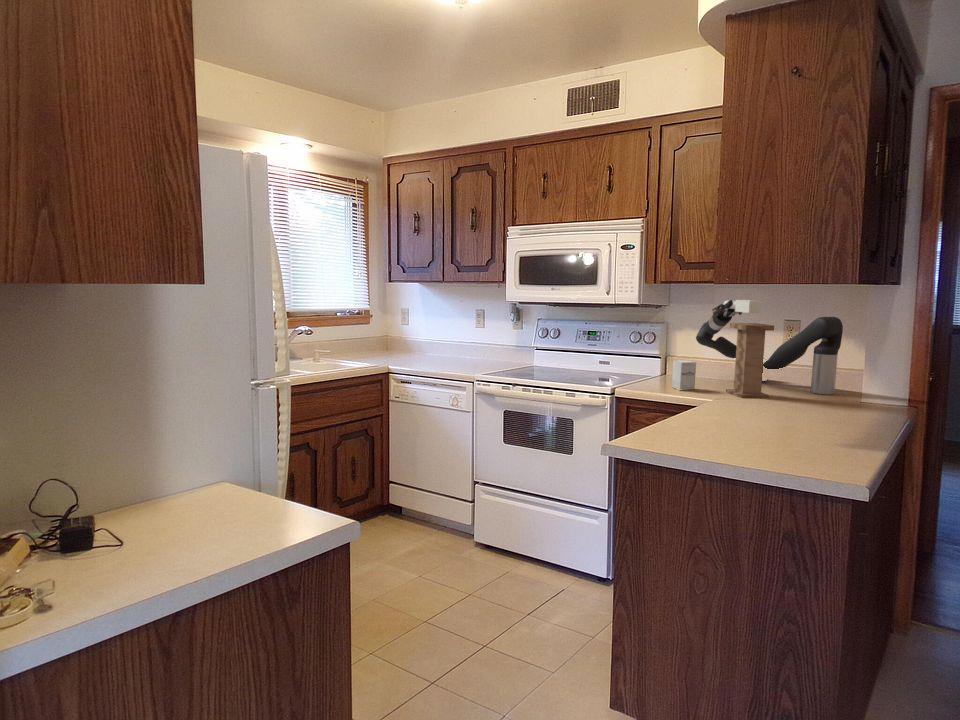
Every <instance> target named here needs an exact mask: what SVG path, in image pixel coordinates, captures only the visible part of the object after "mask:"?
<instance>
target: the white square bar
mask: <svg viewBox="0 0 960 720" xmlns="http://www.w3.org/2000/svg"><path fill="white" fill-rule="evenodd" d="M728 301H729V300H725V301H724V302H723V303H722V304H723V305H724V304H726V303H727V302H728ZM732 302H733V305H732V306H731V307H730V308H728V309H735V312H742V313H746V314H761V309H762V300H755V299H754V300H752V299H751V300H750V299H735V300H732Z"/></svg>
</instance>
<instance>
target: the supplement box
mask: <svg viewBox="0 0 960 720" xmlns="http://www.w3.org/2000/svg"><path fill="white" fill-rule="evenodd" d="M672 362H673V364H672V365H673V366H672V377H671V378H672V380H671V388H672V387H674V388H677V389H695V388H696V387H695V386H696V370H697V362H696V361H693V360H683V359H681V360H679V359H678V360H675V359H674V360H673V361H672ZM674 388H673V389H674Z"/></svg>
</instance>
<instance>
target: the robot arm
mask: <svg viewBox="0 0 960 720" xmlns="http://www.w3.org/2000/svg"><path fill="white" fill-rule="evenodd" d="M732 301H733V300H732V299H729V300H728V302H727V303H726V304H724V303H720V304H719V305H718V306H716V307H714V308H712V309H711V310H712V315H711V316H710V318H709V319H708V320H707V321H705V322H704V323H703V324H702V325H701V327H700V328H699V331H698V332H697V334H696V336H695V339H696V341H697V343H698V344H699V345H701V346H705V347H708V348H710V349H713V350H715V351H717V352H718V353H719V354H722V356H725V357H727V358H729V359H734V358H736V346H737V344H734V343H733V342H732V341H730V340H728V339H727V338H726V337H724V336H719V337H717V338H716V339H715V340H714V339H713V337H714V336H715V335H716V334H718V333H719V332H720V331H721V330H722V329H723V328H724V327H726V326H727V325H728V324H729V322H730V321H732V318H733V317H734V316H735V315H736V314H738V315H740V316H741V315H742V314H743V312H735V309H728V308H730V307H731V306H732V305H733V302H732ZM723 304H724V305H723ZM843 330H844V327H843V321H842V320H841V319H840V318H839V317H837V316H821V317H817V318H816V319H814V320H813V321H811V323H809V324H808V325H807V326H806V327H805V328H804V329H802V331H800V332H798V333H797V334H796V335H794V336H792V337H791V338H790V339H788V340H787V341H785V342H784V343H782V344H781V345H779V346H778V347H777V348H776V350H775V351H774V352H773V353H772V354H771V356H769V358H768V359H766V360H767V361H766V362H765V363H764V364H763V366H764V367H765V368H767V369H779V368H783V367H785V368H786V367H787V366H789V365H791V364H792V363H794V362H796V361H797V360H799V358H801V357H803V356H804V355H805V354H806V352H807V350H808V348H809V347H810V346H811V345H812V344H814V343H816V342H817V341H819V340H821V341H820V343H818V344H817V345H815V346H814V347H813V360H812V368H811V369H812V371H811V385H810V393H812V394H816V395H827V396H828V395H834V394H835V392H836V391H835V390H836V380H837V379H836V378H837V367H838V355H839V350H840V348H841V345H842V339H843ZM783 369H784V368H783Z"/></svg>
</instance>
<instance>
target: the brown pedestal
mask: <svg viewBox="0 0 960 720" xmlns="http://www.w3.org/2000/svg"><path fill="white" fill-rule="evenodd" d="M729 328H730V329H734V330H735V329H737V333H736V334H737V335H736V359H735V361H734V362H735V363H734V364H735V366H734V375H733V377H734V379H733V389H730V388H729V389H725V393H727V394H730V395H732V396H735V397H737V396H738V398H740V397H741V398H740V399H769V398H770V395H769V394H767V393H766V392H765V393H764V392H762V387H763V386H762V385H763V384H762V383H763V382H762V373H763V359H765V358H764V357H765V343H766V342H765V340H766V331H775V325H771V324H765V323H757V322H754V323H753V322H730V323H729Z"/></svg>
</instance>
